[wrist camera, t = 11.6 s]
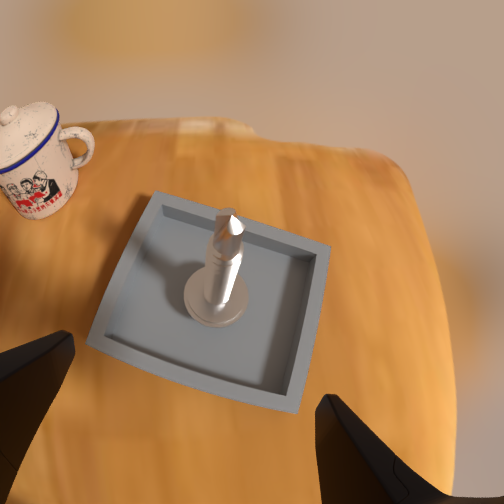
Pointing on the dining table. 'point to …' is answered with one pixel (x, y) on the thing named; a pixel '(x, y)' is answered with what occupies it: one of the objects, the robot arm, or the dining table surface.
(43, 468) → the dining table surface
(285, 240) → the tray
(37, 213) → the teacup with lid
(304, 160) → the dining table surface
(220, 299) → the screw
